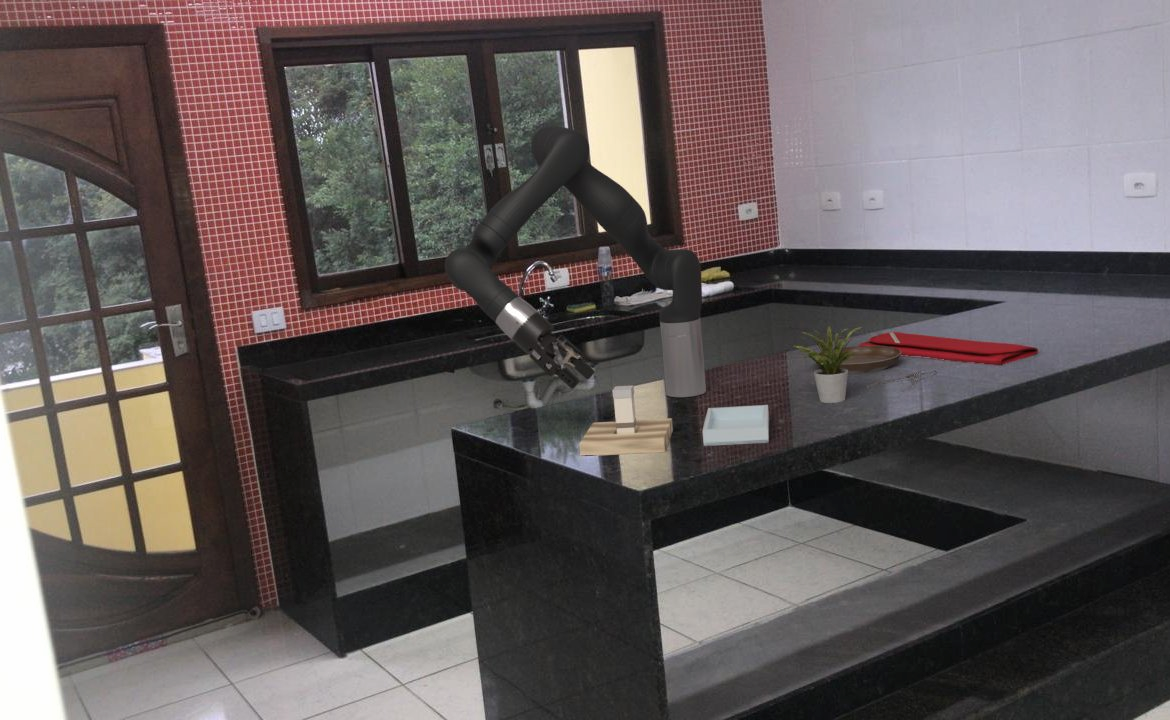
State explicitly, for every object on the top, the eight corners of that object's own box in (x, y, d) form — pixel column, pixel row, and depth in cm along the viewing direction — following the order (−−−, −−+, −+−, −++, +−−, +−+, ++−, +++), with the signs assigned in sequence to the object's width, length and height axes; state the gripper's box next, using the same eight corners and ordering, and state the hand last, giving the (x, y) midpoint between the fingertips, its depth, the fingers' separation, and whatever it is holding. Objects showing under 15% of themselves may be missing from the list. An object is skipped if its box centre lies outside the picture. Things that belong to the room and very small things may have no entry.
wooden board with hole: (594, 434, 217) (593, 422, 216) (672, 430, 214) (671, 418, 213) (580, 456, 201) (579, 443, 201) (665, 452, 198) (663, 439, 198)
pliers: (862, 387, 233) (896, 369, 249) (863, 391, 233) (896, 372, 249) (906, 389, 227) (937, 370, 243) (906, 393, 227) (937, 374, 243)
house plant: (845, 388, 236) (841, 315, 233) (884, 398, 223) (880, 321, 220) (789, 399, 231) (784, 324, 228) (825, 409, 218) (821, 331, 215)
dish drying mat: (1000, 368, 243) (999, 352, 243) (857, 353, 276) (856, 339, 276) (1038, 355, 252) (1038, 340, 252) (896, 343, 285) (895, 329, 285)
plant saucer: (849, 380, 245) (848, 365, 245) (797, 368, 264) (796, 355, 264) (920, 365, 253) (919, 351, 253) (864, 355, 272) (864, 342, 271)
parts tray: (709, 422, 217) (708, 408, 217) (769, 419, 215) (767, 404, 215) (703, 445, 200) (702, 430, 199) (768, 442, 198) (767, 427, 197)
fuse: (620, 441, 210) (615, 386, 208) (638, 440, 209) (633, 385, 207) (617, 446, 206) (612, 390, 204) (636, 445, 206) (631, 389, 204)
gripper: (520, 316, 202) (583, 374, 200) (548, 305, 215) (607, 359, 213) (498, 345, 205) (559, 402, 203) (527, 332, 218) (585, 386, 216)
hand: (584, 380), depth 208 cm, fingers open, 8 cm apart
